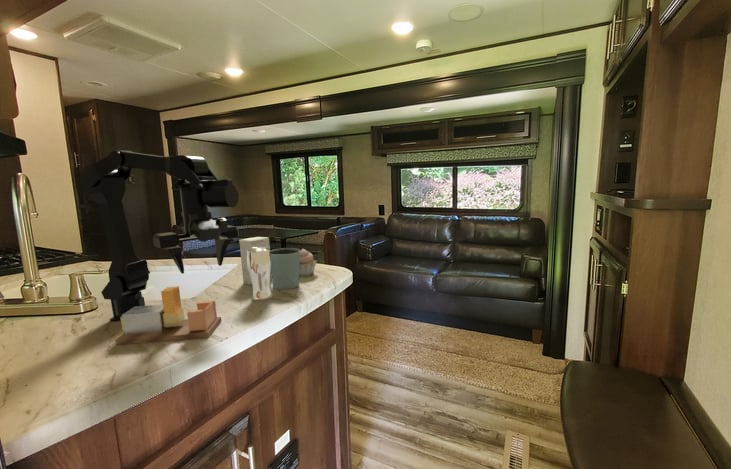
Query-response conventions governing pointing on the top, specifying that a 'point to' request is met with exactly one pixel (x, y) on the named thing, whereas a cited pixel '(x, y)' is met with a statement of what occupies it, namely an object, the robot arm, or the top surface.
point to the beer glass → (260, 272)
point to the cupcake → (306, 263)
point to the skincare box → (244, 246)
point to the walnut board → (169, 334)
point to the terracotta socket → (202, 316)
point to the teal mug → (285, 268)
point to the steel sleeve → (143, 320)
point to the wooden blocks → (170, 308)
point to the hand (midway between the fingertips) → (202, 269)
